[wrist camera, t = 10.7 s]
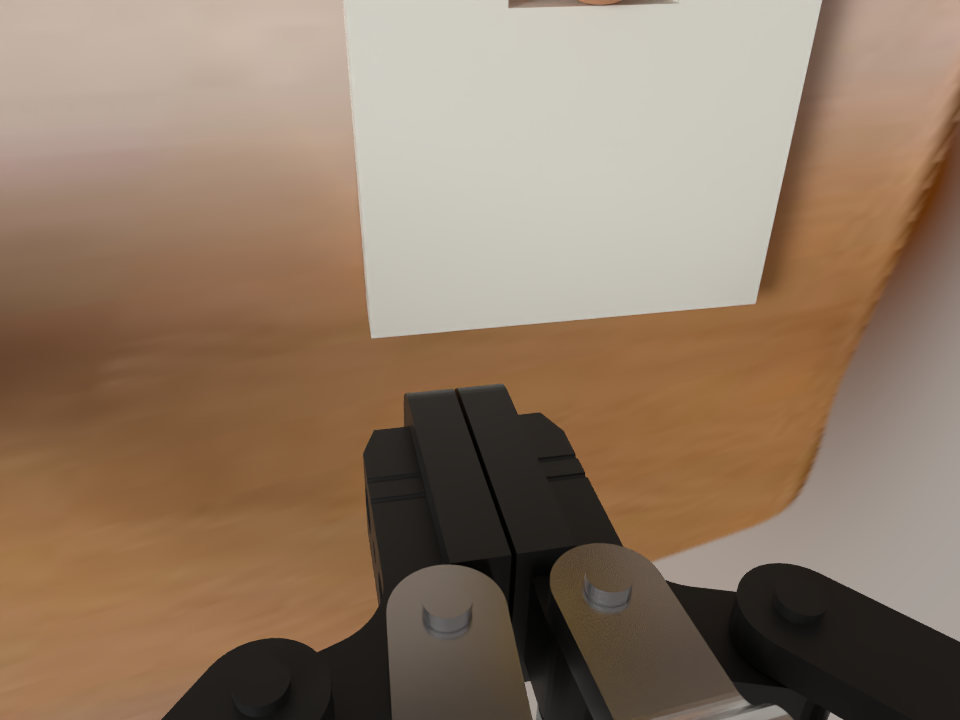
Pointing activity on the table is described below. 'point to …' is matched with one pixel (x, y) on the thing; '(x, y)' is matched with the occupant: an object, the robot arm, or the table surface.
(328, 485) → the table surface
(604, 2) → the ball
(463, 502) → the robot arm
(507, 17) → the hole board
